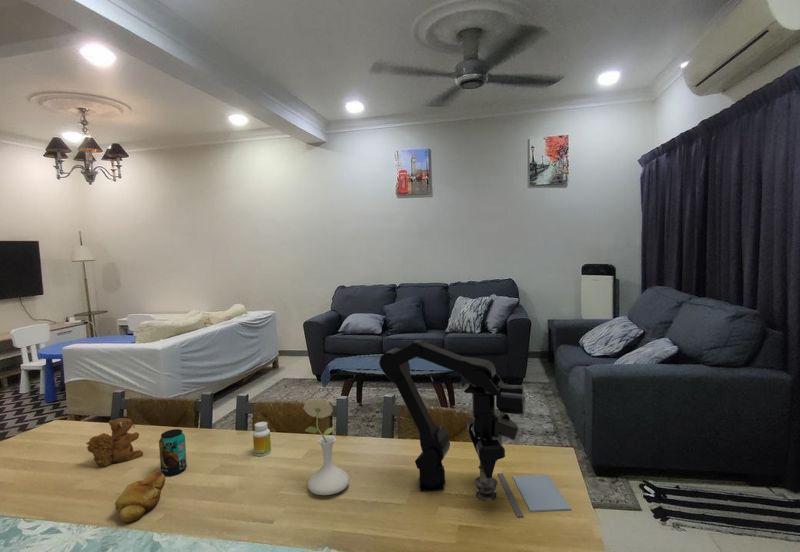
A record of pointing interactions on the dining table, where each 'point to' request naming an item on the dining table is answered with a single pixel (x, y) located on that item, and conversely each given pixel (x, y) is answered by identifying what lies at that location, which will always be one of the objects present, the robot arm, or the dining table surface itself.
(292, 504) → the dining table surface
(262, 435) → the supplement bottle
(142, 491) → the bread roll
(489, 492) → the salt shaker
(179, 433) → the beverage can
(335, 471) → the flower in vase
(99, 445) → the stuffed squirrel
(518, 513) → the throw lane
